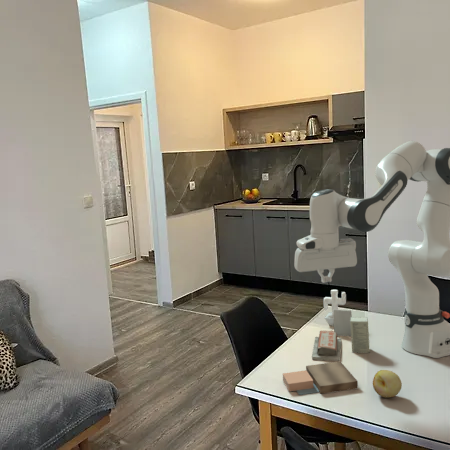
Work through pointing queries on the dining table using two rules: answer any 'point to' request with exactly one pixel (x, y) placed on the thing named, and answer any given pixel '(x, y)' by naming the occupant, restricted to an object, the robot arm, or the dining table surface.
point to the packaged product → (327, 346)
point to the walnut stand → (332, 377)
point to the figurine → (333, 305)
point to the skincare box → (359, 334)
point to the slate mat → (308, 390)
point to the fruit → (387, 383)
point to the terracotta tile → (298, 380)
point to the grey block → (342, 322)
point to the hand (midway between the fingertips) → (326, 282)
